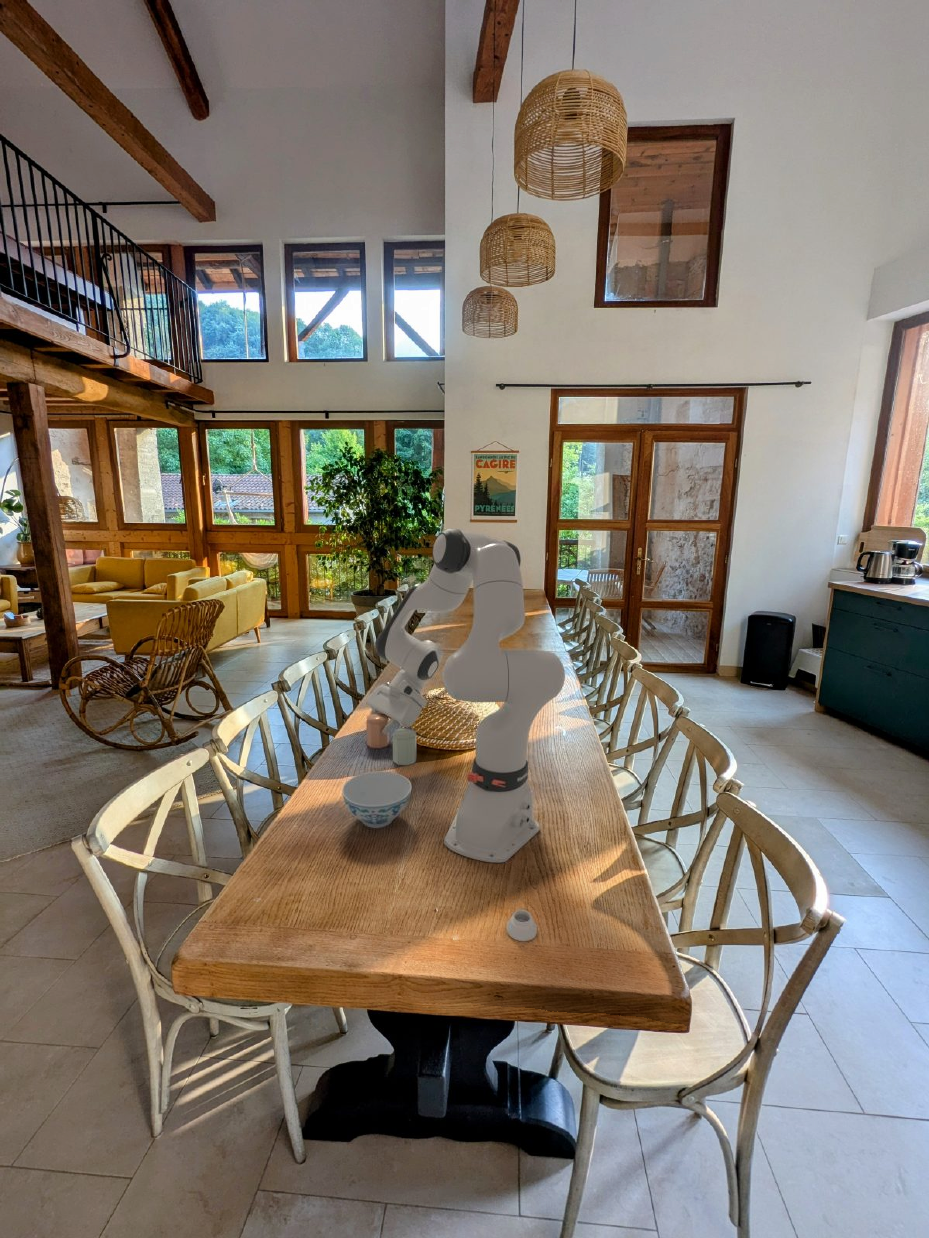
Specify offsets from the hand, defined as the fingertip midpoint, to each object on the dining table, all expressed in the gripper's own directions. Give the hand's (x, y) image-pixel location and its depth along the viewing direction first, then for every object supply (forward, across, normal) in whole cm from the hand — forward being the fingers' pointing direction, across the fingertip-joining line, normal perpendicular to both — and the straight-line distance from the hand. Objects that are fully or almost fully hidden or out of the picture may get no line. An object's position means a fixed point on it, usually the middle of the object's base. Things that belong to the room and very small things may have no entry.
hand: (375, 729), depth 162 cm
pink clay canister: (+3, 0, +4) cm, 5 cm away
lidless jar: (+18, +77, -10) cm, 79 cm away
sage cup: (+3, +14, +4) cm, 14 cm away
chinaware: (+18, +34, -11) cm, 40 cm away
